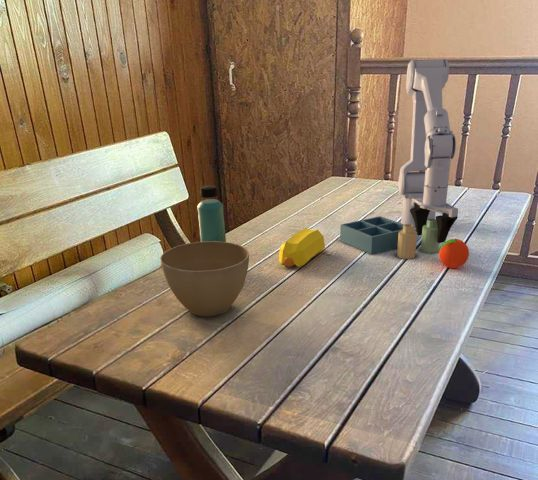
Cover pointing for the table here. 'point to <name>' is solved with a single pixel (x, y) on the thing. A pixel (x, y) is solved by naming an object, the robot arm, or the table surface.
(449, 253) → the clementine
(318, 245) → the yellow faceted toy car
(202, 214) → the beverage bottle
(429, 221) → the mint bottle
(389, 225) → the carrier
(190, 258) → the brown bowl
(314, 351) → the table surface
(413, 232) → the cream bottle
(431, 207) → the robot arm
